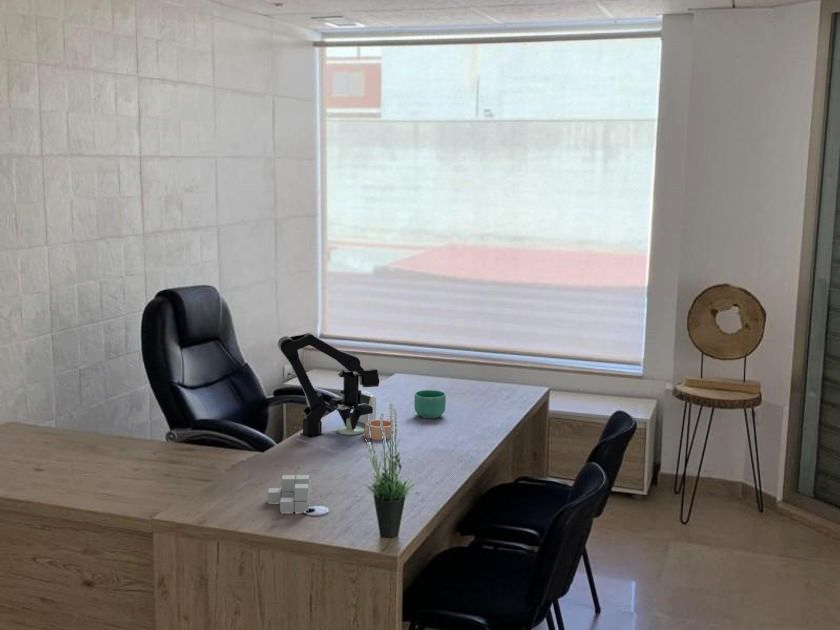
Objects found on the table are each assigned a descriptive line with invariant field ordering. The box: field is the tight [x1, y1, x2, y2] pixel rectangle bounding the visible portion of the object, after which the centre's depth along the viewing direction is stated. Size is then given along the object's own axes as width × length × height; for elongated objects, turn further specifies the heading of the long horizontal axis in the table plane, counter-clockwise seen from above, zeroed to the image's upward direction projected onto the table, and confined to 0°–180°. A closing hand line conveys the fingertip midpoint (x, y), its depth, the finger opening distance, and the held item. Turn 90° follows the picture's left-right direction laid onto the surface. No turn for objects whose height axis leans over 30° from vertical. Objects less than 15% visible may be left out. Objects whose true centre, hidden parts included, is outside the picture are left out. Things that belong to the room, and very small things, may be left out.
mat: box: [331, 429, 365, 438], centre depth 358 cm, size 10×10×1 cm
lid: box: [336, 418, 365, 436], centre depth 357 cm, size 10×10×5 cm
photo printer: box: [357, 390, 377, 425], centre depth 371 cm, size 10×4×12 cm, turn 39°
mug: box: [413, 389, 447, 420], centre depth 385 cm, size 17×13×10 cm
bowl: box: [364, 419, 397, 441], centre depth 353 cm, size 11×11×5 cm
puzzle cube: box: [267, 474, 310, 513], centre depth 278 cm, size 12×12×8 cm
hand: (350, 428), depth 357 cm, fingers closed on lid, 3 cm apart
